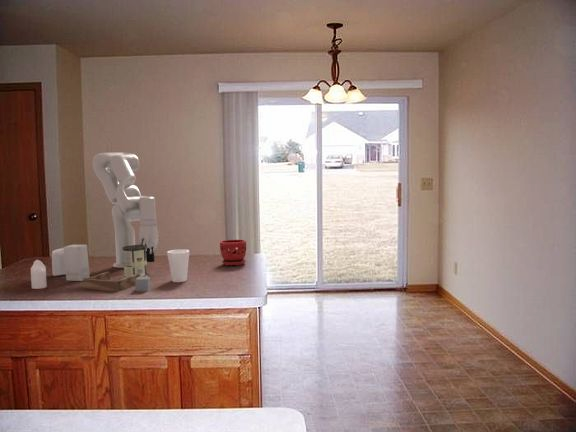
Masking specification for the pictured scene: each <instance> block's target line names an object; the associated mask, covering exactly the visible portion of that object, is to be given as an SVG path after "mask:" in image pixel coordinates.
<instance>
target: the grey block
mask: <svg viewBox="0 0 576 432" xmlns="http://www.w3.org/2000/svg"><path fill="white" fill-rule="evenodd" d="M135 281H136V285H135V291H136V292H149V291H150V290H151V288H152V283H151V281H152V279H151V276H147V277H138V278H136V279H135Z"/></svg>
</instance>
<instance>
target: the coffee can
mask: <svg viewBox="0 0 576 432" xmlns="http://www.w3.org/2000/svg"><path fill="white" fill-rule="evenodd" d="M123 260H124V268H123V275H124V277H123V278H126V277H129V276H131V275H134V274H140V277H148V268H147V267H148V266H147V265H148V262H147V257H146V246H145V245H139V244H135V245H130V246H125V247H123Z"/></svg>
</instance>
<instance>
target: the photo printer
mask: <svg viewBox="0 0 576 432" xmlns="http://www.w3.org/2000/svg"><path fill="white" fill-rule="evenodd" d="M51 264H52V265H51V267H52V276H53V277H56V276H57V277H58V276H64V275H65V276H66V269H65V259H64V249H63V248H62V247H61V248H58V249H57V248H56V249H55V250H52V252H51Z"/></svg>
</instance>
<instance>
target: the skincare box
mask: <svg viewBox="0 0 576 432" xmlns="http://www.w3.org/2000/svg"><path fill="white" fill-rule="evenodd" d="M63 249H64V259H65V269H66V275H65V278H66V279H65V280H66V281H69V282H70V281H71V282H72V281H73V282H83V279H86V278H89V277H91V276H90V275H91V274H90V265H89V264H90V263H89V255H88V245H87V244H69V245H66V246H63Z"/></svg>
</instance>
